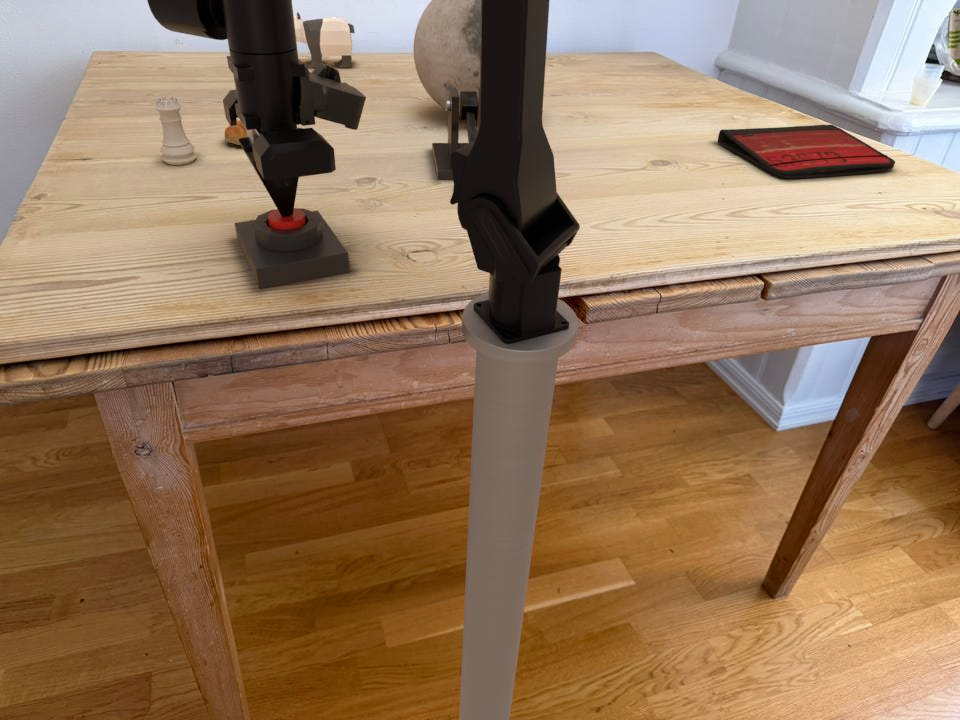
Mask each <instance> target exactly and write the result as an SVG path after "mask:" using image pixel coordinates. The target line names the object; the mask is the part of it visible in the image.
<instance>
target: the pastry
mask: <svg viewBox="0 0 960 720" xmlns="http://www.w3.org/2000/svg"><path fill="white" fill-rule="evenodd" d="M243 137H247V133H246V128H245V127H244V126H243V124H242V123H241V120H240V119H239V120H237V126H230V125H228V126H227V127H225V130H224V141H225V142H228V143H230V144H233V145H237V146H241V145H240V143H239V141H238V140H239V139H240V138H243Z"/></svg>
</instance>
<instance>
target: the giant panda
mask: <svg viewBox="0 0 960 720" xmlns="http://www.w3.org/2000/svg"><path fill="white" fill-rule="evenodd" d="M293 16H294V25H295V34H296V42H298V43H304V44H306V46H307V48H308V50H309V53H310V59H309V61H308V63H309V64H308V68H310V69H315V68H316V67H317V66H318V65H319V63H323V56H328V57H338V56H341V59H339V60H338V68H352V65H353V63H352V62H353V60H352V59H353V58H352V54H353V40H352V34H355V33H356V32H355V26H354V25H353V24H352V23H349V22H347V21H346V19H343V18H342V17H334V16H331V17H324V18H316V19H309V20H307V19H306V20H303V19H302V18H301V15H300V12H298V11H296V15H293Z"/></svg>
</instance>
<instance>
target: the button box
mask: <svg viewBox="0 0 960 720" xmlns="http://www.w3.org/2000/svg"><path fill="white" fill-rule="evenodd" d="M295 208H296V209H299V210H302V211H303V212H304V214H305V221H306V225H304V226H302V227H300V228H298V229H292V230H275V229H273V228H270V227H269V221H268V215H269V213H270V212H272V211H274V210H277V208H276V209H271V210H268V211H265V212H264V213H261V214H259V215H257V217H256V218H255V219H252V220H246V221H245V220H244V221H239V222H234V224H233V225H234V229H235V234H236V239H237V243H238V245H239V247H240V250H241V252H242V253H243V257H244V258H245V260H246V262H247V265H248V267H249V269H250V271H251V274H252V276H253V279H254V280H255V282H256V284H257V287H258V289H259V290H262V289H267V288H272V287H277V286H283V285H288V284H293V283H298V282H304V281H309V280H315V279H318V278H324V277H330V276H334V275H341V274H345V273H350V271H351V270H350V261H349V260H350V259H349V252H348V250H347V249H346V248H345V246H344V245H343V244H342V242H341V241H340V239H339V238H338V237H337V236H336V234H335V232H334V231H333V230H332V228H331V227H330V225H329V224H328V223H327V221H326V219H324V217H323V216H322V214H321V212H319V210H310V209H307V208H299V207H295Z"/></svg>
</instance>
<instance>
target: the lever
mask: <svg viewBox="0 0 960 720" xmlns="http://www.w3.org/2000/svg"><path fill="white" fill-rule="evenodd" d="M478 107H479V105H478V98H477V92H476V91H460V101H459V109H460V116H459V118H460V120H461V121H465V125H466V133H467V140H468V142H467V143H471V142H473V141H474V140H475V138H476V135H477V116H478Z"/></svg>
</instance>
